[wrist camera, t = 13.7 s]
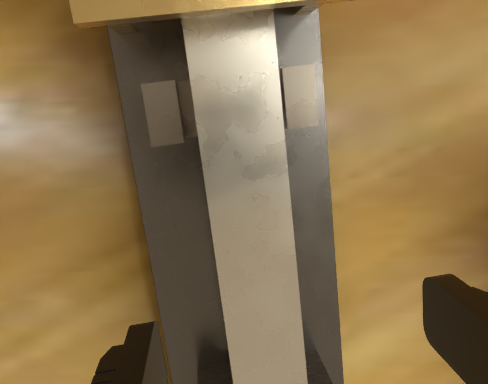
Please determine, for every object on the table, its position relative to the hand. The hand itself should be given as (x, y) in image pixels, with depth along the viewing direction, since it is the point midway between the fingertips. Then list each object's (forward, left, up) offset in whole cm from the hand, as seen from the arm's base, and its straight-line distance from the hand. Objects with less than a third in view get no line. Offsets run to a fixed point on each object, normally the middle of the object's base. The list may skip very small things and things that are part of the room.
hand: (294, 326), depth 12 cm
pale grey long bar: (0, 0, -12) cm, 12 cm away
